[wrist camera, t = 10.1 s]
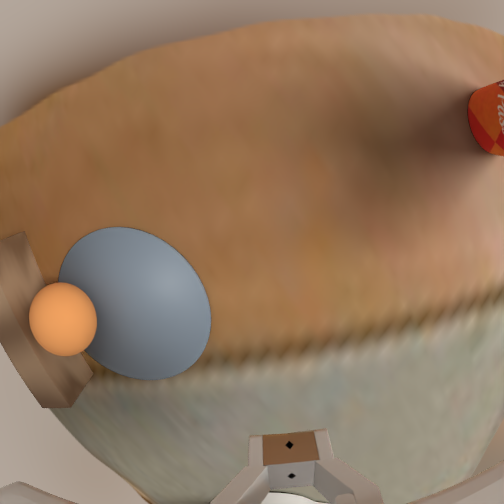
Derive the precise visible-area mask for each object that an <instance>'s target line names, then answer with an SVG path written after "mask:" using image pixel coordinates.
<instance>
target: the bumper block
mask: <svg viewBox="0 0 504 504" xmlns="http://www.w3.org/2000/svg"><path fill="white" fill-rule="evenodd" d="M45 286H46V284H45V282H44V280H43V277H42V275H41V273H40V270H39V268H38V265H37V263H36V260H35V258H34V255H33V253H32V250H31V247H30V245H29V242H28V239H27V236H26V234H25V231H24V232H21V233H19V234H16V235H13V236H11V237H8V238H6V239H3V240H1V241H0V343H1V344H2V346H3V348H4V350H5V352H6V353H7V355H8V356H9V358H10V360H11V362H12V363H13V365H14V367H15V368H16V370H17V372H18V373H19V375H20V376H21V378H22V379H23V381H24V382H25V384H26V385H27V387H28V388H29V390H30V391H31V393H32V394H33V395H34V397H35V398H36V400H37V401H38V402H39V404H40V405H41V407H42V408H71V407H72V405H73V404H74V402H75V400H76V399H77V397H78V396H79V394H80V393H81V392H82V390H83V389H84V387H85V386H86V384H87V383H88V381H89V380H90V378H91V377H92V375H93V372H92V371H91V369H90V367H89V366H88V364H87V362H86V361H85V359H84V357H83V356H82V354H81V352H80V353H78V354H76V355H73V356H58V355H55V354H52V353H50V352H48V351H47V350H45V349H44V348H43V347H42V346H41V345H40V344H39V343H38V342H37V340H36V339H35V337H34V335H33V333H32V331H31V328H30V323H29V311H30V306H31V304H32V301H33V299H34V297H35V296H36V294H37V293H38V292H39V291H40V290H41V289H43V288H44V287H45Z"/></svg>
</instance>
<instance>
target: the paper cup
mask: <svg viewBox="0 0 504 504" xmlns="http://www.w3.org/2000/svg"><path fill="white" fill-rule="evenodd" d="M468 120H469V125H470V128H471V131H472V133H473V136H474V137H475V139H476V141H477V142H478V144H479V145H480V146H481V147H482V148H483V149H484V150H485V151H487V152H489V153H491V154H495V155H500V156H504V80H502V81H499V82H496V83H493V84H491V85H488V86H486V87H483V88H481V89H479V90H477V91H475V92H474V93H473V94H472V96H471V97H470V100H469V103H468Z"/></svg>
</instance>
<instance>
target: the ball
mask: <svg viewBox="0 0 504 504" xmlns="http://www.w3.org/2000/svg"><path fill="white" fill-rule="evenodd" d="M29 323H30V328H31V331H32V333H33V335H34V337H35V339H36V340H37V342H38V343H39V344H40V345H41V346H42V347H43V348H44V349H45V350H47V351H48V352H50V353H52V354H55V355H58V356H73V355H76V354H78V353H80V352H82V351H83V350H85V349H86V348H87V347H88V346H89V345H90V343H91V342H92V340H93V338H94V336H95V333H96V328H97V316H96V311H95V308H94V305H93V303H92V301H91V300H90V298H89V297H88V296H87V294H86V293H85V292H83V291H82V290H81V289H80V288H78V287H76V286H75V285H72V284H69V283H62V282H59V283H53V284H50V285H47V286H45V287H44V288H43V289H41V290H40V291H39V292H38V293H37V294H36V296H35V297H34V299H33V301H32V304H31V306H30V311H29Z"/></svg>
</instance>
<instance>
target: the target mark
mask: <svg viewBox="0 0 504 504" xmlns="http://www.w3.org/2000/svg"><path fill="white" fill-rule="evenodd" d="M59 282H62V283H69V284H72V285H75V286H76V287H78V288H80V289H81V290H82V291H83V292H85V293H86V294H87V296H88V297H89V298H90V300H91V301H92V303H93V305H94V308H95V311H96V316H97V328H96V333H95V336H94V338H93V340H92V342H91V343H90V345H89V346H88V347H87V348H86V349H85V351H86V352H87V353H88V354H89V355H90V356H91V357H92V358H93V359H94V360H96V361H97V362H99V363H100V364H101V365H103V366H105V367H106V368H108V369H110V370H112V371H114V372H116V373H118V374H121V375H124V376H127V377H130V378H135V379H142V380H159V379H165V378H169V377H172V376H175V375H177V374H179V373H182V372H183V371H185V370H186V369H188V368H189V367H190V366H191V365H193V364H194V363H195V362H196V360H197V359H198V358H199V357H200V356H201V354H202V352H203V350H204V349H205V347H206V344H207V341H208V338H209V334H210V329H211V311H210V305H209V301H208V297H207V294H206V291H205V289H204V286H203V284H202V282H201V280H200V278H199V276H198V275H197V273H196V272H195V270H194V269H193V267H192V266H191V265H190V264H189V262H188V261H187V260H186V259H185V258H184V257H183V256H182V255H181V254H180V253H179V252H178V251H177V250H176V249H174V248H173V247H172V246H170V245H169V244H168V243H166V242H165V241H163V240H162V239H160V238H158V237H156V236H154V235H152V234H150V233H147V232H144V231H142V230H138V229H133V228H127V227H109V228H105V229H100V230H97V231H95V232H92V233H90V234H88V235H87V236H85V237H83V238H82V239H80V240H79V241H78V242H77V243H76V244H75V245H74V246H73V247H72V248H71V250H70V251H69V252H68V254H67V256H66V257H65V259H64V261H63V264H62V266H61V270H60V274H59V280H58V283H59Z"/></svg>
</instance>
